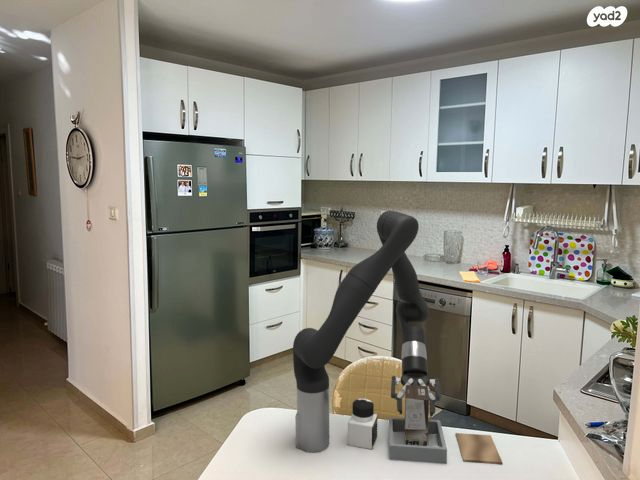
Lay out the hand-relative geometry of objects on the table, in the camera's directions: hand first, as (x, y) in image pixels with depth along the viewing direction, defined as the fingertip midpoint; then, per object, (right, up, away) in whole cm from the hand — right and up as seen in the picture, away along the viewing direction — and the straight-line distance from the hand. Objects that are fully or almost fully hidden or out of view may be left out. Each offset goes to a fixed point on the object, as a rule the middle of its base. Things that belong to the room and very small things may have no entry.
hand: (416, 414), depth 128 cm
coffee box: (0, -9, +1) cm, 9 cm away
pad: (+17, -9, -1) cm, 19 cm away
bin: (0, -9, +1) cm, 9 cm away
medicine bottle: (-15, -9, +3) cm, 18 cm away
